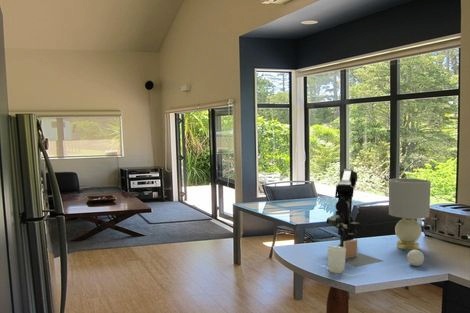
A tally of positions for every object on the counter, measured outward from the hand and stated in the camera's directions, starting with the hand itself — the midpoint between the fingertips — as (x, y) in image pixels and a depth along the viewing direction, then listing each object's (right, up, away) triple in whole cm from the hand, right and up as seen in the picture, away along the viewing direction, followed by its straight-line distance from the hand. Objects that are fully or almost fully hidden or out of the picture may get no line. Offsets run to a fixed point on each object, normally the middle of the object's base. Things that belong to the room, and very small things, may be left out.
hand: (343, 240), depth 235 cm
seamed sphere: (+28, -9, -15) cm, 33 cm away
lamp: (+38, -7, +17) cm, 42 cm away
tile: (+3, -7, -4) cm, 8 cm away
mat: (+5, -8, -8) cm, 12 cm away
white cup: (-8, -9, -24) cm, 27 cm away
